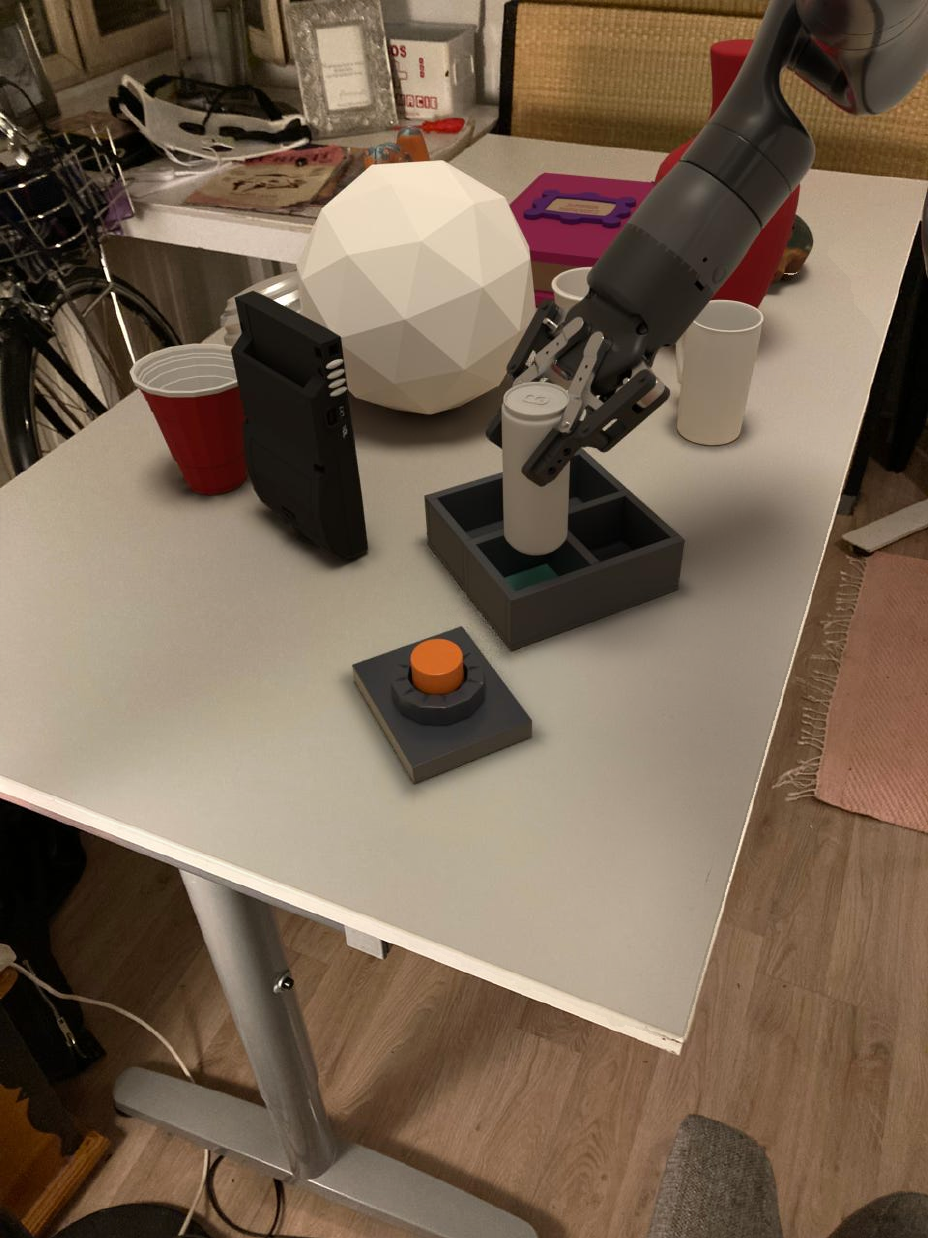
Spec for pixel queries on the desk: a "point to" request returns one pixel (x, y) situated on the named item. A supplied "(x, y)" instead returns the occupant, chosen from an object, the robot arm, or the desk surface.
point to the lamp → (413, 285)
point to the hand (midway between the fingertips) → (513, 460)
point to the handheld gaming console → (299, 424)
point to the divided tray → (555, 555)
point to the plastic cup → (197, 412)
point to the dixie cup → (570, 287)
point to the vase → (772, 240)
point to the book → (572, 222)
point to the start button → (437, 667)
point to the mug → (716, 371)
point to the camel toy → (399, 149)
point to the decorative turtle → (795, 250)
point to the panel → (441, 710)
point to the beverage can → (525, 423)
